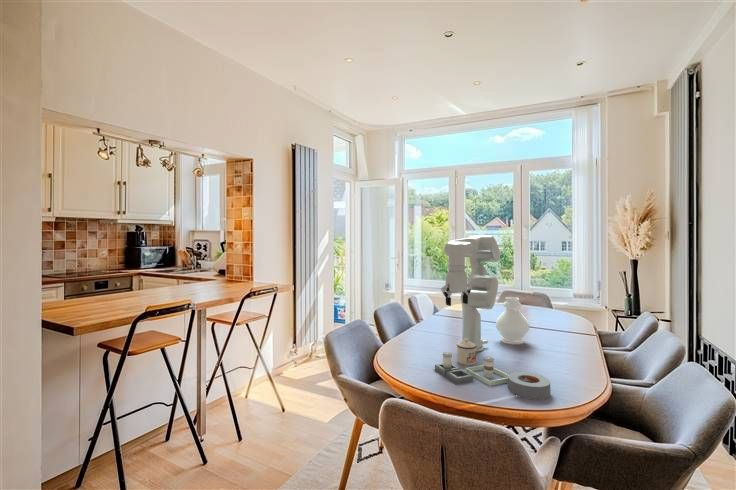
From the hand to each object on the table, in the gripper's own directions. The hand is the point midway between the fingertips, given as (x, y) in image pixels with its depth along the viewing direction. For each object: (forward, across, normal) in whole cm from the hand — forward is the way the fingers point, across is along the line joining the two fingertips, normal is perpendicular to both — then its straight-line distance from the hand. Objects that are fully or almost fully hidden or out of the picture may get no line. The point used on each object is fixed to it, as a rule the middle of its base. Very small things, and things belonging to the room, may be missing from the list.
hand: (456, 304), depth 173 cm
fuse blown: (+27, 0, +22) cm, 35 cm away
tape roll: (+28, -6, +38) cm, 48 cm away
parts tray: (+28, 0, +22) cm, 35 cm away
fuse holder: (+28, +13, +14) cm, 34 cm away
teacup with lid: (+28, -4, +3) cm, 29 cm away
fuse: (+27, +13, +10) cm, 31 cm away
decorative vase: (+29, -50, -15) cm, 59 cm away
